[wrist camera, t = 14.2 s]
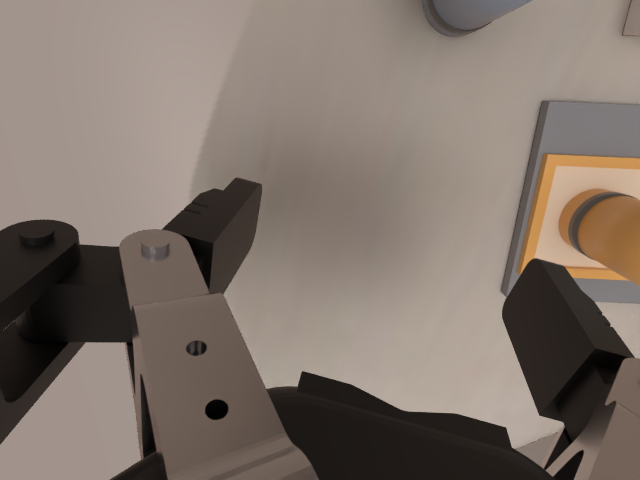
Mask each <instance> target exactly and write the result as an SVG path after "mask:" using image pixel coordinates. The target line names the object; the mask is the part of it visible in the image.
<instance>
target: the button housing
mask: <svg viewBox="0 0 640 480" xmlns="http://www.w3.org/2000/svg"><path fill="white" fill-rule="evenodd" d="M623 35H631V36H640V0H632V1H631V5H630V9H629V12H628V16H627V20H626V24H625V27H624V31H623Z"/></svg>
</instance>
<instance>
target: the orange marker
mask: <svg viewBox="0 0 640 480" xmlns="http://www.w3.org/2000/svg"><path fill="white" fill-rule="evenodd" d="M558 227H559V232H560V235H561V237H562V239H563V240H564V241H565V242H566V243H567V244H568V245H570V246H571V247H573V248H575V249H576V250H577V251H578V252H580V253H581V254H583V255H585V256H587V257H588V258H590V259H592V260H595V261H597V262H599V263H600V264H602V265H604V266H606V267H607V268H609V269H611V270H612V271H614V272H616V273H618V274H619V275H621V276H623V277H624V278H626V279H628V280H630V281H631V282H633V283H635V284H636V285H638V286H640V200H639V199H637V198H635V197H633V196H630V195H626V194H623V193H619V192H613V191H610V190H606V189H590V190H587V191H584V192H582V193H580V194H578V195H576V196H575V197H574V198H572V199H571V200H570V201H569V202H568V203H567V204H566V206H565V207H564V209H563V210H562V213H561V215H560V218H559V226H558Z"/></svg>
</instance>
